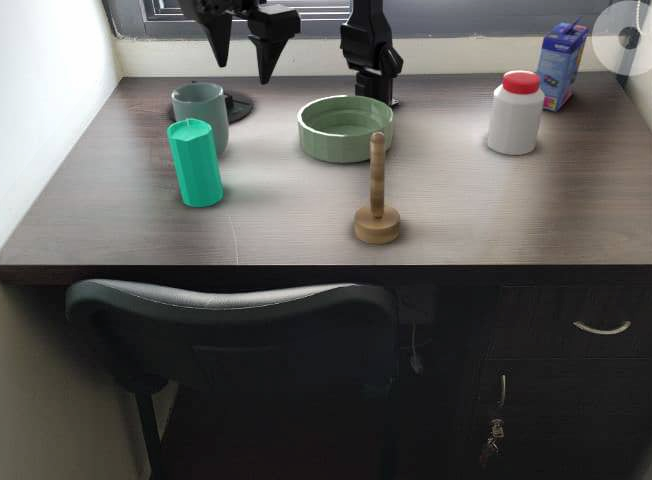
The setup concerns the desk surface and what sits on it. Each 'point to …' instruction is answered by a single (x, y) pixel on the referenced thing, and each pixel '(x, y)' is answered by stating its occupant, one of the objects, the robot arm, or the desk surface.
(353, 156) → the bowl
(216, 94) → the cup
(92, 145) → the desk surface
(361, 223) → the wooden mushroom pestle
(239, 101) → the black round base plate
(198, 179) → the candle
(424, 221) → the desk surface
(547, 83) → the ink cartridge box
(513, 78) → the pill bottle
